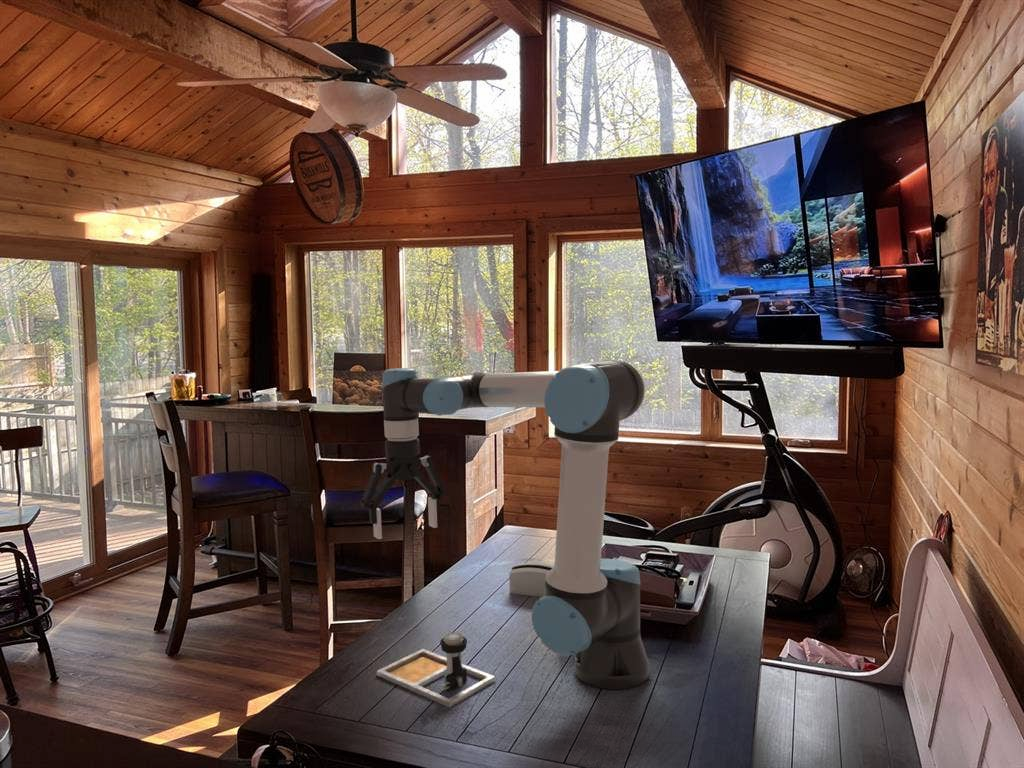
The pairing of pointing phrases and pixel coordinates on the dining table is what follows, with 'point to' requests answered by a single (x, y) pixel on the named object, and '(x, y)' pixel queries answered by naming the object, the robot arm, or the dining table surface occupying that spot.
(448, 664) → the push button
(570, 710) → the dining table surface
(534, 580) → the white rounded block
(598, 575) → the robot arm
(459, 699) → the white divided frame
